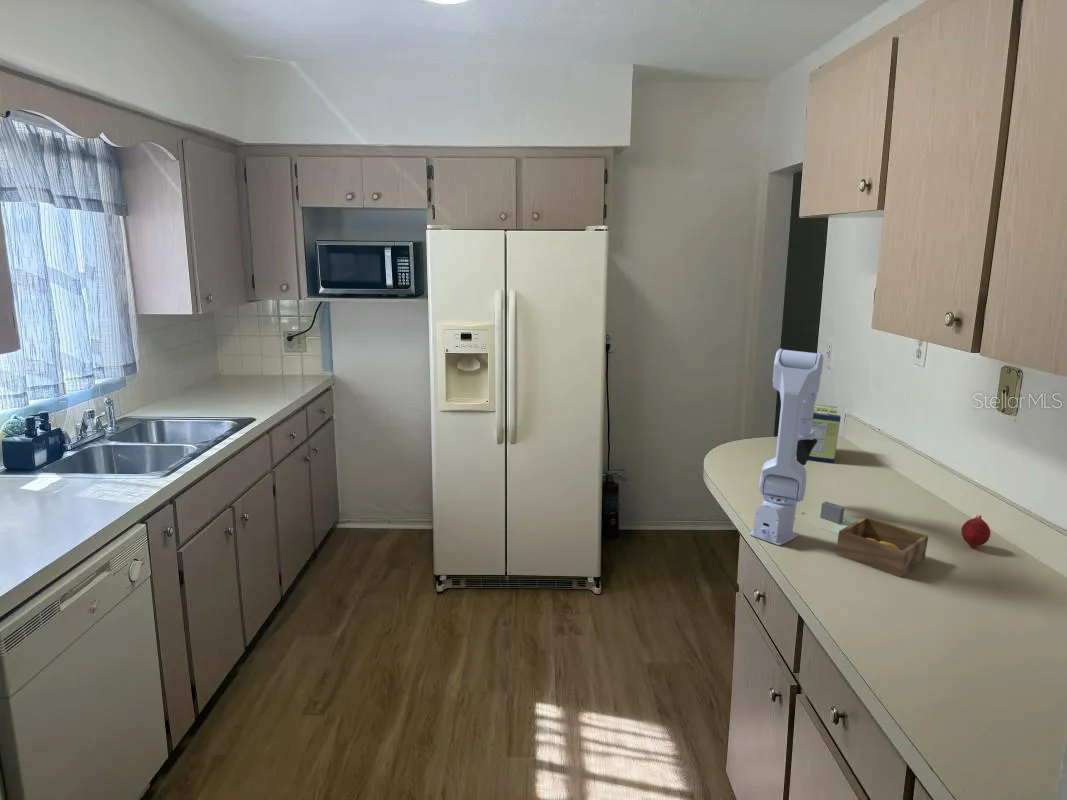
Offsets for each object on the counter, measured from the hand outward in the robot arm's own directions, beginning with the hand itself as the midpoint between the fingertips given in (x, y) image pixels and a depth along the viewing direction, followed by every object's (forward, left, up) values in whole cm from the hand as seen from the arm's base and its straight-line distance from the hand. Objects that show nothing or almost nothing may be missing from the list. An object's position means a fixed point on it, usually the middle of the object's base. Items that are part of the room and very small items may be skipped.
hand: (794, 467), depth 189 cm
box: (-14, -29, -10) cm, 34 cm away
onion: (+10, -41, -11) cm, 44 cm away
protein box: (+51, +17, -11) cm, 55 cm away
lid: (-2, -12, -11) cm, 17 cm away
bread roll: (-14, -28, -11) cm, 34 cm away
